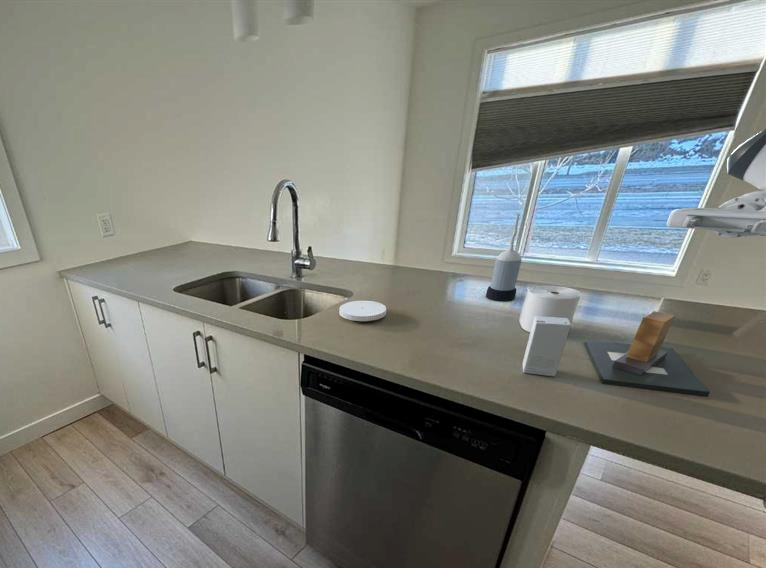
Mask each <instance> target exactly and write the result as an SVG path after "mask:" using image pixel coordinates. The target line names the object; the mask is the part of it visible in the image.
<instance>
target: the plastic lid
mask: <svg viewBox="0 0 766 568" xmlns="http://www.w3.org/2000/svg"><path fill="white" fill-rule="evenodd" d="M338 314H339V316H340V317H342V318H344V319H346V320H349V321H355V322H371V321H376V320H380V319H382V318H384V317H385V316H386V315H387V306H386V305H385V304H383V303H381V302H378V301H373V300H354V301H353V300H352V301H347V302H345V303H343V304H341V305H340V306H339V311H338Z"/></svg>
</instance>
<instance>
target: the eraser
mask: <svg viewBox="0 0 766 568" xmlns="http://www.w3.org/2000/svg"><path fill="white" fill-rule="evenodd" d="M675 318H676V315H675V314H669V313H665V312H660V311H655V310H654V311H651V312H649V313H648V314H646V315H644V316H643V317H642V319H641V321H640V323H639V326H638V328H637V331H636V333H635V335H634V338H633V340H632V343H631V344H632V345H631V347H630V349H629V352H627V353H626V354H624V355H623V356H621V357H620V358H618V359H616V360H615V361H614V363H613V366H612V367H614V368H618V369H621V370H624V371H628V372H631V373H635V374H638V375H642V374H644V373H645V372H647V371H648V370H649V369H651V368H652V367H653V366H655V365H656V364H657V363H659V362H660V361H662V360H663V359H664V358H665V357H666V355H667V353H668V352H667V351H663V350H660V348H661V347H662V345H663V343H664V341H665V339H666V337H667V334H669V330H670V328H671V326H672V324H673V322H674V319H675Z"/></svg>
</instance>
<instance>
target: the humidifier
mask: <svg viewBox="0 0 766 568" xmlns="http://www.w3.org/2000/svg"><path fill="white" fill-rule="evenodd" d="M520 215H521V213H516V216H515V221H514V226H513V233H512V235H511V238H510V241H509V247H508V249H507V250H504V251H503V252H501V253H499V255H497V257H496V259H495V263H494V268H493V271H492V276H491V281H490V285H488V287H487V289H486V292H485V297H486V299H488V300H490V301H493V302H503V303H504V302H511V301H514V300H515V299H516V295H517V288H516V284H517V281H518V276H519V272H520V268H521V265H522V256H521V254H520V253H519V252H518V251H517V250H518V248H519V244H520V240H521V238H522V235H523V233H522V232H520V233H521V234H520V236H519V239H518V243H517V247H516V249H514V245H515V244H514V243H515V237H516V236H517V234H518V225H519V220H520ZM525 217H526V216H524V218H523V221H522V226H521V227H520V230H522V229H523V226H524V222H525Z"/></svg>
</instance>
